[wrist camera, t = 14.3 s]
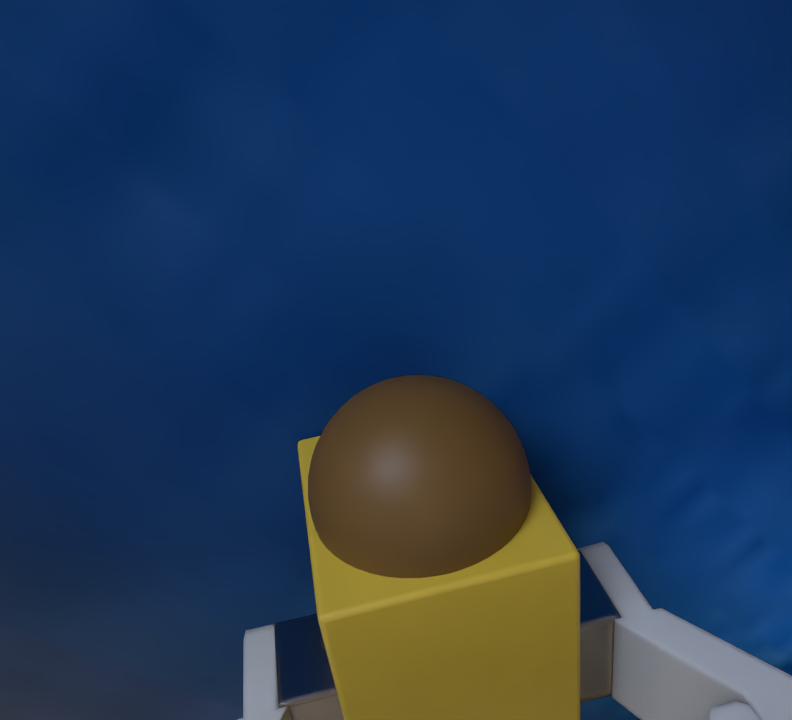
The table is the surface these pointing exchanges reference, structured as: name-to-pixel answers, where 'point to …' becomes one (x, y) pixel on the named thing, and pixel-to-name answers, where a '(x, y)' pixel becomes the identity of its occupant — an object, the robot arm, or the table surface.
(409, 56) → the table surface
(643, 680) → the robot arm
